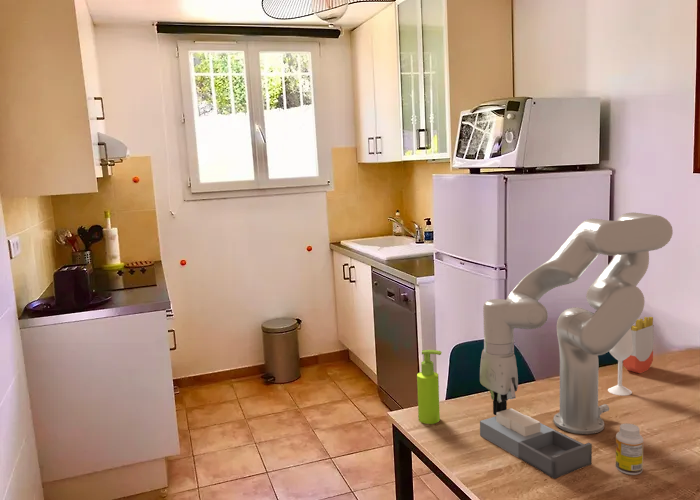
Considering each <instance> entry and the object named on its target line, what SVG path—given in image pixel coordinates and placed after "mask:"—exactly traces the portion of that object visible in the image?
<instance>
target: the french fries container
mask: <svg viewBox="0 0 700 500" xmlns="http://www.w3.org/2000/svg"><path fill="white" fill-rule="evenodd" d="M643 318H644V319H643ZM643 318H638V319H637V321H636V322H635V325H634V324H633V326H632V327H631V334H632V345H633V352H632V354H631V355H630V356H629V357H628V358H627V359H625V360H623V361H622V366H623V367H624V368H625V369H626V370H627V371H629V372H632V373H636V374H642V373H644V372H647V371H648V370H650V367H651V366H652V363H653V362H654V335H655V334H654V331H655V330H654V329H655V328H654V327H655V325H654V317H653V316H644V317H643Z"/></svg>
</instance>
